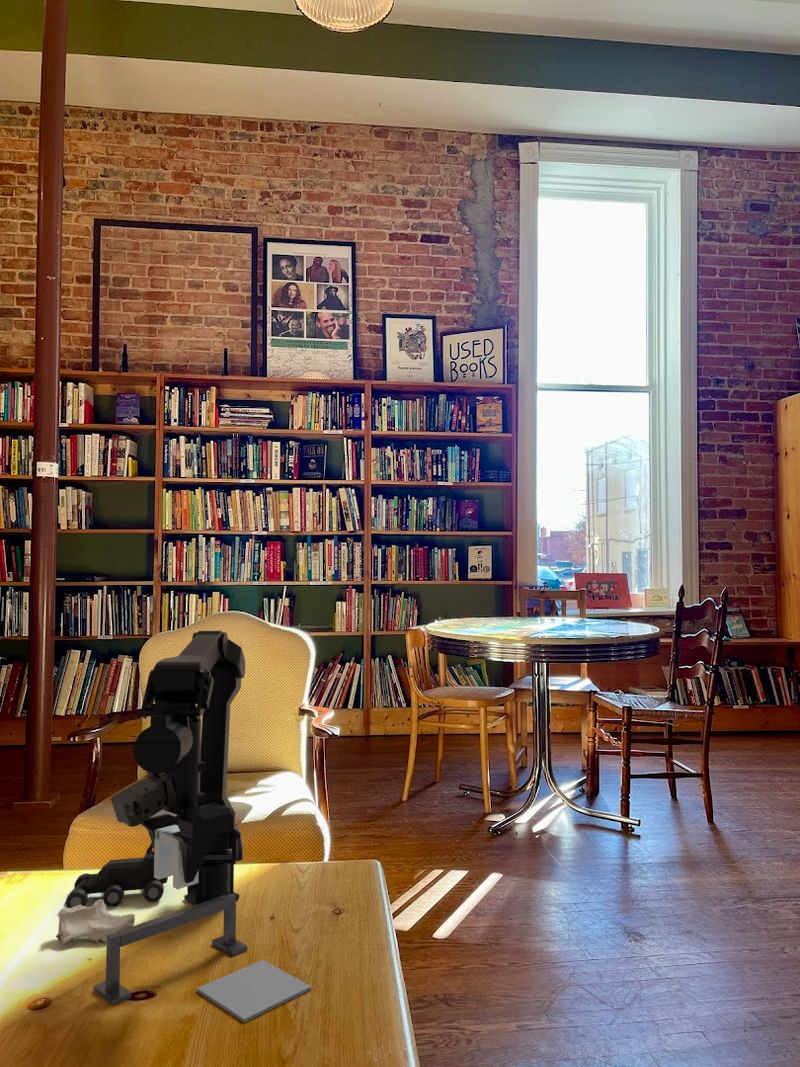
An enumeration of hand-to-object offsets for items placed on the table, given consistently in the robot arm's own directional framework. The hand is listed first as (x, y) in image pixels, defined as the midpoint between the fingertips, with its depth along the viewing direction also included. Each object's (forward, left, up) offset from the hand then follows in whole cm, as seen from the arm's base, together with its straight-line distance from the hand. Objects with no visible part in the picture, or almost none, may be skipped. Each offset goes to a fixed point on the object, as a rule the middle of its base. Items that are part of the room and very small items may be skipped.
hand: (176, 875), depth 101 cm
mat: (-4, +12, -12) cm, 17 cm away
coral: (+3, -17, -12) cm, 21 cm away
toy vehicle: (-6, -28, -12) cm, 32 cm away
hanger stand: (0, 0, -12) cm, 12 cm away
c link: (0, 0, 0) cm, 0 cm away
